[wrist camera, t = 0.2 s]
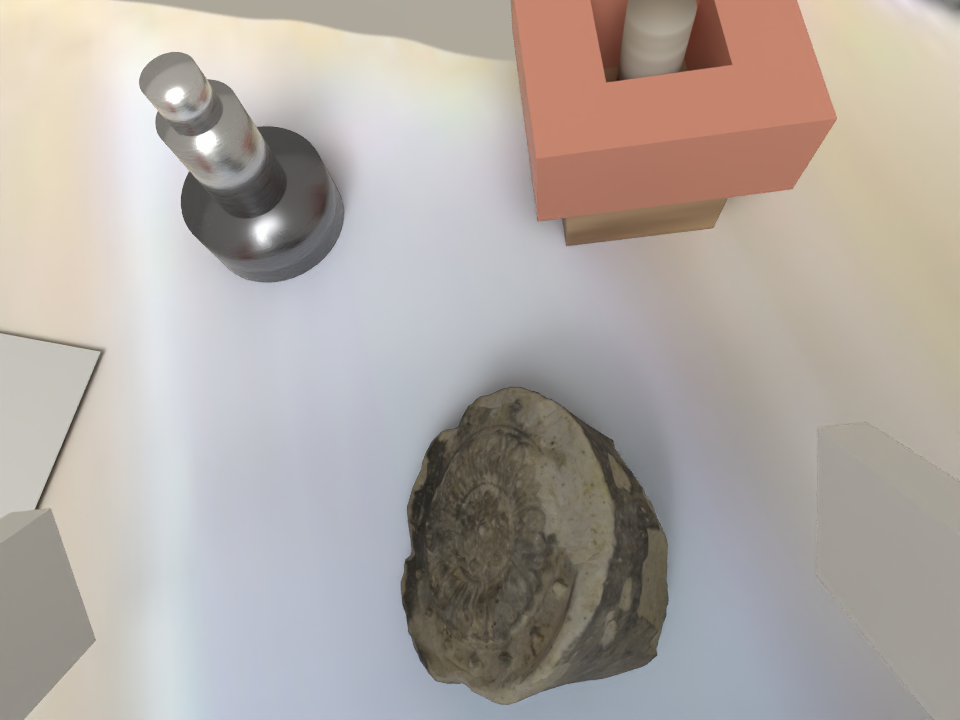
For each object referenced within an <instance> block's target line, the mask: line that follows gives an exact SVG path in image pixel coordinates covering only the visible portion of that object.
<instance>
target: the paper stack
mask: <svg viewBox="0 0 960 720" xmlns="http://www.w3.org/2000/svg"><path fill="white" fill-rule="evenodd" d="M100 353H101V352H100V351H94V350H89V349H83V348H78V347H72V346H67V345H62V344H56V343H51V342H45V341H40V340H34V339H29V338H24V337H18V336H13V335H7V334H2V333H0V519H1V518H2V517H4V516H5V515H7V514H8V513H10V512H20V511H29V510H35V508H36V505H37V503H38V501H39V498H40V496H41V494H42V491H43V489H44V486H45V484H46V482H47V479H48V477H49V474H50V472H51V470H52V467H53V465H54V462H55V460H56V458H57V455H58V453H59V451H60V448H61V446H62V443H63V441H64V439H65V436H66V434H67V431H68V429H69V427H70V424H71V422H72V419H73V417H74V415H75V412H76V410H77V408H78V405H79V403H80V400H81V398H82V396H83V393H84V391H85V388H86V386H87V384H88V381H89V379H90V376H91V374H92V372H93V369H94V367H95V365H96V362H97V360H98V357H99V355H100Z"/></svg>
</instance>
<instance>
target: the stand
mask: <svg viewBox="0 0 960 720" xmlns="http://www.w3.org/2000/svg"><path fill="white" fill-rule="evenodd" d="M696 11H697V4H696V1H695V0H629V1H628V3H627V9H626V16H625V23H624V30H623V37H622V44H621V51H620V58H619V65H618V66H617V67H610V68H603V69H604V74H605V80H606V83H607V82H614V81H621V80H628V79H635V78H642V77H650V76H657V75H664V74H671V73H678V72H685V71H688V69H687V65H686V61H685V57H684V56H685V53H686V49H687V45H688V41H689V38H690V34H691V30H692V26H693V23H694V19H695V15H696ZM727 198H728V197H726V198H718V199H710V200H703V201H695V202H687V203H679V204H671V205H663V206H655V207H647V208H639V209H631V210H623V211H615V212H608V213H600V214H592V215H584V216H576V217H568V218H562V220H563V227H564V233H565V240H566V246H571V245H579V244H587V243H595V242H603V241H611V240H619V239H627V238H636V237H644V236H652V235H660V234H668V233H676V232H684V231H692V230H700V229H709V228H713V227H714V225H715V223H716V221H717V219H718V217H719V215H720V213H721V211H722V209H723V207H724V204H725V202H726V200H727Z"/></svg>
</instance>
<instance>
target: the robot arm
mask: <svg viewBox="0 0 960 720" xmlns="http://www.w3.org/2000/svg"><path fill="white" fill-rule="evenodd" d="M817 577H818V579H819V580H820V581H821V582H822V583H823V585H824V586H825V587H826V588H827V590H828V591H829V592H830V593H831V595H832V596H833V597H834V598H835V600H836V601H837V602H838V603H839V604H840V606H841V607H842V608H843V609H844V611H845V612H846V613H847V614H848V616H849V617H850V618H851V619H852V621H853V622H854V623H855V624H856V625H857V627H858V628H859V629H860V630H861V632H862V633H863V634H864V635H865V637H866V638H867V639H868V640H869V642H870V643H871V644H872V645H873V647H874V648H875V649H876V650H877V651H878V653H879V654H880V655H881V656H882V658H883V659H884V660H885V661H886V663H887V664H888V665H889V666H890V668H891V669H892V670H893V671H894V672H895V674H896V675H897V676H898V677H899V679H900V680H901V681H902V682H903V684H904V685H905V686H906V687H907V689H908V690H909V691H910V692H911V693H912V695H913V696H914V697H915V698H916V700H917V701H918V702H919V703H920V705H921V706H922V707H923V708H924V710H925V711H926V712H927V713H928V714H929V716H930V717H931V718H932V719H933V720H960V481H958V480H956V479H955V478H953V477H952V476H950V475H949V474H947V473H946V472H944V471H942V470H941V469H939V468H938V467H936V466H935V465H933V464H931V463H930V462H928V461H927V460H925V459H924V458H922V457H921V456H919V455H917V454H916V453H914V452H913V451H911V450H910V449H908V448H906V447H905V446H903V445H902V444H900V443H899V442H897V441H896V440H894V439H892V438H891V437H889V436H888V435H886V434H885V433H883V432H881V431H880V430H878V429H877V428H875V427H874V426H872V425H871V424H869V423H867V422H864V423H854V424H845V425H835V426H826V427H818V456H817ZM95 641H96V639H95V636H94V633H93V630H92V628H91V625H90V622H89V619H88V616H87V613H86V610H85V607H84V604H83V601H82V598H81V595H80V592H79V589H78V586H77V584H76V581H75V578H74V575H73V572H72V569H71V566H70V563H69V560H68V557H67V554H66V551H65V548H64V545H63V542H62V540H61V537H60V534H59V531H58V528H57V525H56V522H55V519H54V516H53V513H52V510H51V508H48V509H39V510H29V511H20V512H10V513H8V514H7V515H5V516H4V517H2V518H1V519H0V720H24V719H25V718H26V717H27V715H28V714H29V713H30V712H31V711H32V710H33V709H34V708H35V707H36V706H37V704H38V703H39V702H40V701H41V700H42V699H43V698H44V697H45V696H46V695H47V693H48V692H49V691H50V690H51V689H52V688H53V687H54V686H55V685H56V684H57V682H58V681H59V680H60V679H61V678H62V677H63V676H64V675H65V674H66V673H67V671H68V670H69V669H70V668H71V667H72V666H73V665H74V664H75V663H76V662H77V660H78V659H79V658H80V657H81V656H82V655H83V654H84V653H85V652H86V651H87V649H88V648H89V647H90V646H91V645H92V644H93V643H94V642H95Z"/></svg>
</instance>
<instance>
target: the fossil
mask: <svg viewBox="0 0 960 720" xmlns="http://www.w3.org/2000/svg"><path fill="white" fill-rule="evenodd" d="M407 515H408V524H409V532H410V538H411V547H412V553H411V556H409V557H408V558H407V559H406V560H405V564H404V574H403V577H402V580H401V594H402V604H403V607H404V610H405V613H406V618H407V625H408V632H409V634H410V635H411V637H412V641H413V645H414V648H415V650H416V652H417V653H418V655H419V658H420V661H421V662H422V664H423V665H424V667H425V668H426V669H427V671H428V673H429V674H430V675H431V676H432V677H433V678H434V679H435V681H438V682H442V683H447V684H459V683H463V684H465V685H466V686H468V687H469V688H470V689H471V691H473V692H475V693H477V694H479V695H481V696H483V697H485V698H487V699H489V700H491V701H492V702H495V703H498V704H503V705H509V704H512V703H515V702H518V701H520V700H523V699H525V698H527V697H529V696H532V695H535V694H537V693H539V692H542V691H545V690H549V689H552V688H555V687H558V686H562V685H565V684H569V683H575V682H581V681H587V680H596V679H603V678H607V677H611V676H614V675H617V674H620V673H624V672H627V671H630V670H633V669H636V668H639V667H642V666H644V665H646V664H648V663H649V662H650V661H651V660H652V659H653V658H655V657H656V656H657V651H656V647H657V645H658V640H659V637H660V634H661V630H662V625H663V622H664V620H665V617H666V607H667V605H668V591H667V582H666V574H667V546H668V545H667V540H666V536H665V534H664V532H663V529H662V527H661V524H660V523H659V522H658V519H657V517H656V514H655V512H654V509H653V506H652V504H651V502H650V501H649V500H648V499H647V497H646V496H645V494H644V491H643V488H642V486H641V485H640V484H639V482H638V481H637V480H636V478H635V477H634V475H633V473H632V472H631V471H630V470H629V469H628V468H627V466H626V465H625V463H624V462H623V460H622V458H621V457H620V455H619V454H618V452H617V451H616V450H615V448H614V443H613V440H612V439H610V438H608V437H606V436H604V435H603V434H601V433H600V432H598V431H597V430H595V429H593V428H592V427H590V426H589V425H587V424H585V423H584V422H583V421H581V420H580V419H579V418H577V417H576V416H575V415H573V414H572V413H570V412H569V411H568V410H566V409H565V408H564V407H562V406H561V405H559V404H558V403H556V402H555V401H553V400H551V399H548V398H546V397H544V396H542V395H541V394H539V393H537V392H534V391H529V390H527V389H525V388H522V387H508V388H504V389H501V390H499V391H497V392H495V393H493V394H490V395H486V396H482V397H480V398H478V399H476V400H475V401H474V403H473V404H471V405H470V406H468V408H467V410H466V411H465V413H464V415H463V417H462V419H461V421H460V424H459V426H458V427H457V428H455V429H448V430H445V431H443V432H441V433H440V434H439V435H438V436H437V437H436V438H435V439H434V440H433V441H432V442H431V444H430V446H429V448H428V450H427V452H426V454H425V457H424V460H423V462H422V469H421V471H420V473H419V475H418V477H417V479H416V482H415V484H414V486H413V489H412V492H411V495H410V499H409V502H408V506H407Z"/></svg>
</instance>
